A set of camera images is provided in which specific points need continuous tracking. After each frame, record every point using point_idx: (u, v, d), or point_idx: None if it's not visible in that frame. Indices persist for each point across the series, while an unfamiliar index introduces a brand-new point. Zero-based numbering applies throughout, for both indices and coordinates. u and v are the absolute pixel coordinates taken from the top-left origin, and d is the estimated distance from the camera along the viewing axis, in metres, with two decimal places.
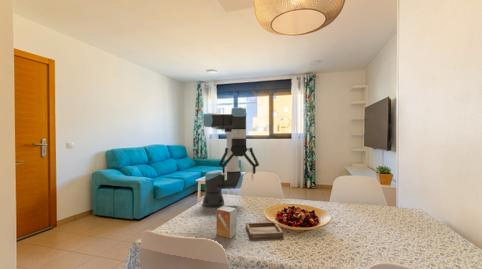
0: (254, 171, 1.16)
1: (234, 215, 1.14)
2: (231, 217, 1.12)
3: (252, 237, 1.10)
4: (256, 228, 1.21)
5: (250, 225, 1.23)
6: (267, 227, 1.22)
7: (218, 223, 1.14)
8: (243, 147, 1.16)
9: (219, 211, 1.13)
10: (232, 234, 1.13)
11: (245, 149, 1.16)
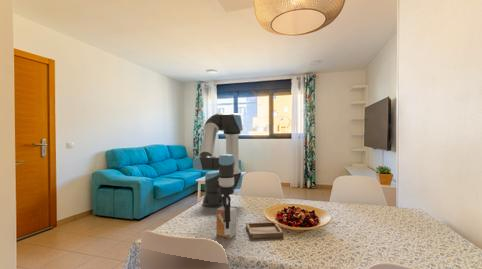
0: (226, 226, 1.09)
1: (234, 215, 1.14)
2: (231, 217, 1.12)
3: (252, 237, 1.10)
4: (256, 228, 1.21)
5: (250, 225, 1.23)
6: (267, 227, 1.22)
7: (218, 223, 1.14)
8: (224, 196, 1.12)
9: (219, 211, 1.13)
10: (232, 234, 1.13)
11: (224, 199, 1.12)
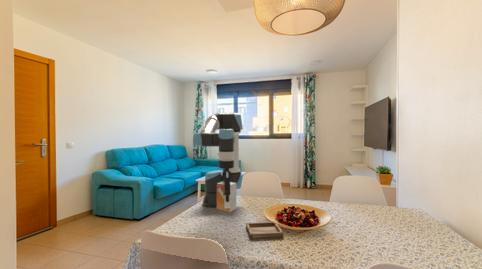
0: (226, 199, 1.09)
1: (233, 189, 1.14)
2: (231, 191, 1.12)
3: (252, 237, 1.10)
4: (256, 228, 1.21)
5: (250, 225, 1.23)
6: (267, 227, 1.22)
7: (218, 197, 1.14)
8: (224, 170, 1.12)
9: (219, 185, 1.14)
10: (232, 208, 1.13)
11: (224, 172, 1.12)
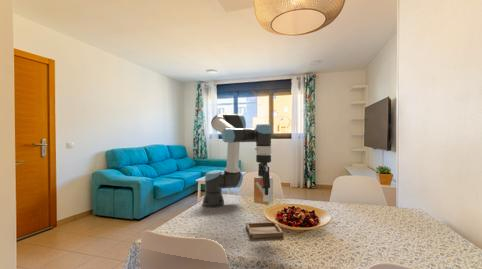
0: (265, 192, 1.11)
1: (271, 183, 1.16)
2: None
3: (252, 237, 1.10)
4: (256, 228, 1.21)
5: (250, 225, 1.23)
6: (267, 227, 1.22)
7: (256, 191, 1.16)
8: (262, 164, 1.15)
9: (257, 179, 1.16)
10: (270, 202, 1.15)
11: (263, 166, 1.14)
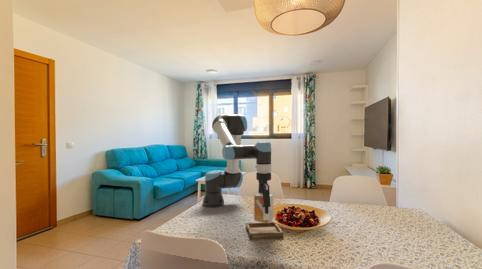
0: (265, 211, 1.11)
1: (271, 201, 1.16)
2: (270, 203, 1.14)
3: (252, 237, 1.10)
4: (256, 228, 1.21)
5: (250, 225, 1.23)
6: (267, 227, 1.22)
7: (256, 209, 1.16)
8: (262, 182, 1.15)
9: (257, 197, 1.16)
10: (270, 220, 1.15)
11: (263, 185, 1.14)
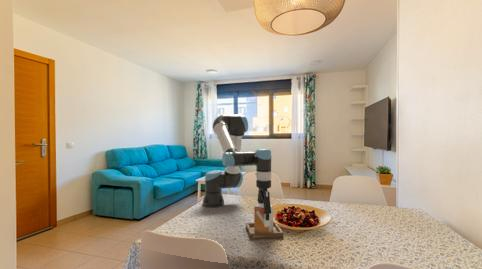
0: (266, 218, 1.10)
1: (271, 212, 1.16)
2: (270, 214, 1.14)
3: (252, 237, 1.10)
4: None
5: (250, 225, 1.23)
6: None
7: (256, 220, 1.16)
8: (262, 189, 1.15)
9: (258, 208, 1.15)
10: (271, 231, 1.15)
11: (263, 192, 1.14)
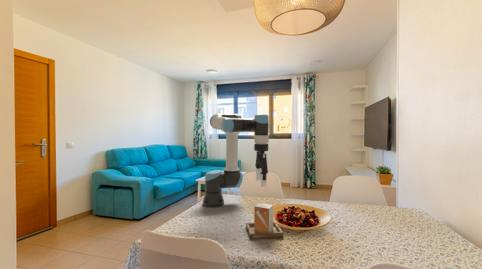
0: (263, 178, 1.15)
1: (271, 212, 1.16)
2: (270, 214, 1.14)
3: (252, 237, 1.10)
4: None
5: (250, 225, 1.23)
6: None
7: (256, 220, 1.16)
8: (260, 152, 1.20)
9: (258, 208, 1.15)
10: (271, 231, 1.15)
11: (260, 154, 1.19)
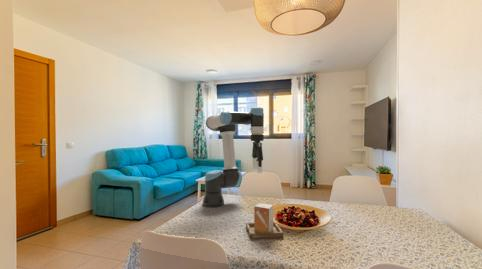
0: (258, 164, 1.27)
1: (271, 212, 1.16)
2: (270, 214, 1.14)
3: (252, 237, 1.10)
4: None
5: (250, 225, 1.23)
6: None
7: (256, 220, 1.16)
8: (256, 142, 1.32)
9: (258, 208, 1.15)
10: (271, 231, 1.15)
11: (256, 144, 1.31)
